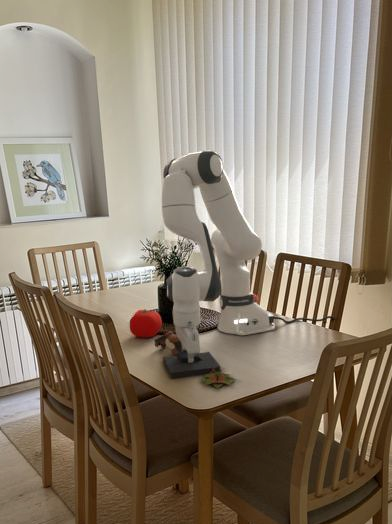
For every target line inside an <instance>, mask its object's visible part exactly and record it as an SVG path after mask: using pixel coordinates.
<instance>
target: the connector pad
mask: <svg viewBox="0 0 392 524" xmlns="http://www.w3.org/2000/svg"><path fill="white" fill-rule="evenodd" d="M187 356H188V352H187V351H182V352H178V354H177V358H178V359H179V361H180V363H186V362H188V360H187ZM194 361H199V355H198V354H194Z"/></svg>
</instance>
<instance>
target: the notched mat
mask: <svg viewBox="0 0 392 524" xmlns="http://www.w3.org/2000/svg"><path fill="white" fill-rule="evenodd" d="M198 355H199V361H194V362H192V363H189V362H186V363H180V361H179V359H178V355H175V356H173V355H168V356H162V361H163V365H164V366H165V368H166V370H167V373H168V375H169V376H170V378H171V379H177V378H179V379H180V378H187V377H195V376H205V374H206V375H207V374H211V372H212V373H215V372H217V371H218V372H220V371H221V370H222V369H221V368H222V367H221V365H220V364H219V363H218V361H217V360H216V359H215V357H214V356H213V355H212V353H211V352H210V351H206V352H199V354H198ZM220 367H221V368H220ZM212 368H213V369H214V370H215V369H216V371H215V372H213V371H214V370H213V369H212ZM219 369H220V370H219ZM212 370H213V371H212ZM221 372H222V371H221ZM221 372H220V373H221Z"/></svg>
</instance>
